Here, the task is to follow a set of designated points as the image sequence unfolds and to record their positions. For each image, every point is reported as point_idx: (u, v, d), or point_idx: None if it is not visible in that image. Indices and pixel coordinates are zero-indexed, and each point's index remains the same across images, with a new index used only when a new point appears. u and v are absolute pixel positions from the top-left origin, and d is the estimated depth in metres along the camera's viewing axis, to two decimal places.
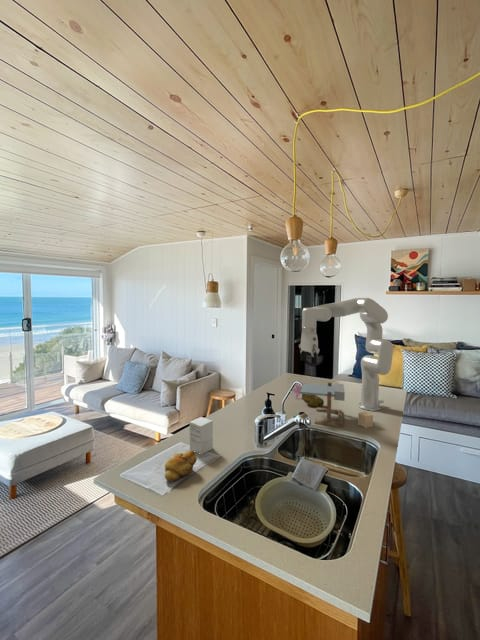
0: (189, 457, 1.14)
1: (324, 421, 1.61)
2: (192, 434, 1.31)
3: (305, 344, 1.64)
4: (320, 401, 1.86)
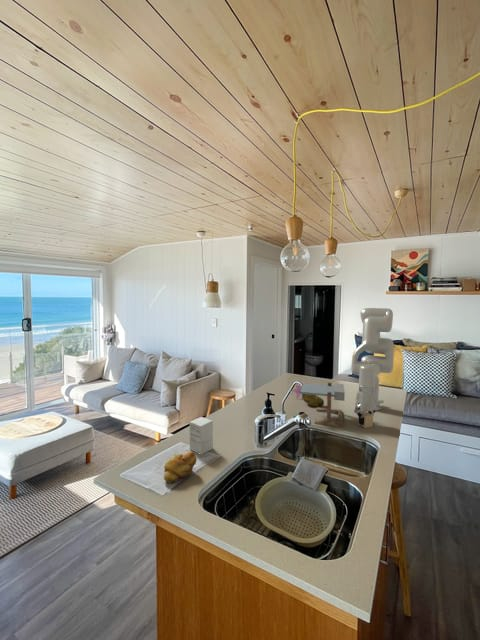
0: (188, 459, 1.13)
1: (324, 421, 1.61)
2: (192, 434, 1.31)
3: (370, 404, 1.57)
4: (320, 401, 1.86)
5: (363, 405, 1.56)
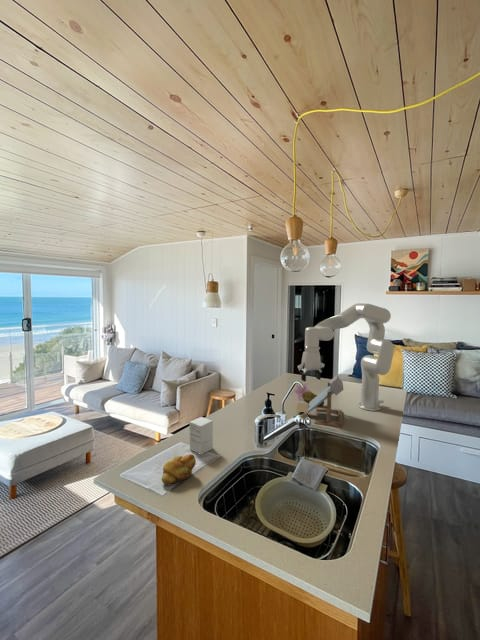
0: (187, 461, 1.11)
1: (324, 421, 1.61)
2: (192, 434, 1.31)
3: (314, 363, 1.68)
4: None
5: (307, 363, 1.67)
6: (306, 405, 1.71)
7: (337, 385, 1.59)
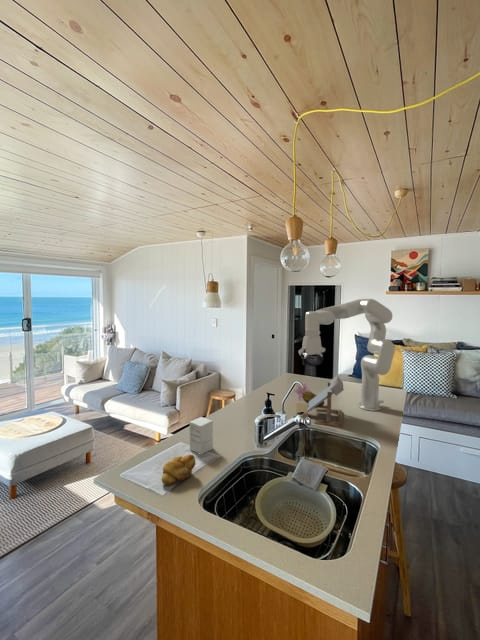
0: (186, 462, 1.11)
1: (324, 421, 1.61)
2: (192, 434, 1.31)
3: (315, 347, 1.68)
4: None
5: (308, 348, 1.66)
6: (305, 405, 1.71)
7: (337, 385, 1.59)
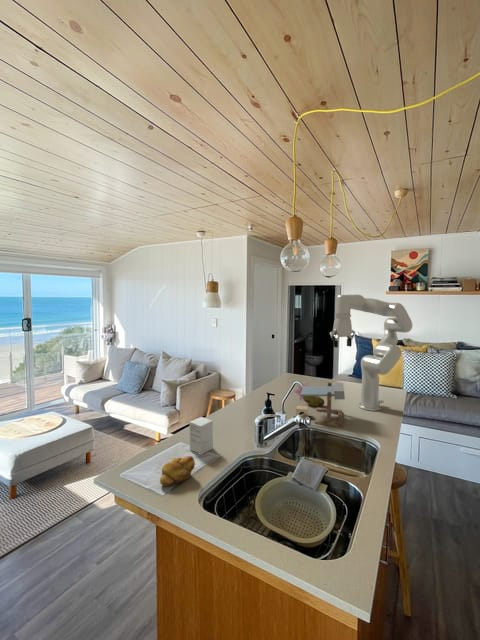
0: (185, 463, 1.10)
1: (324, 421, 1.61)
2: (192, 434, 1.31)
3: (346, 329, 1.72)
4: (320, 401, 1.86)
5: (339, 330, 1.70)
6: (305, 411, 1.68)
7: (342, 392, 1.59)
